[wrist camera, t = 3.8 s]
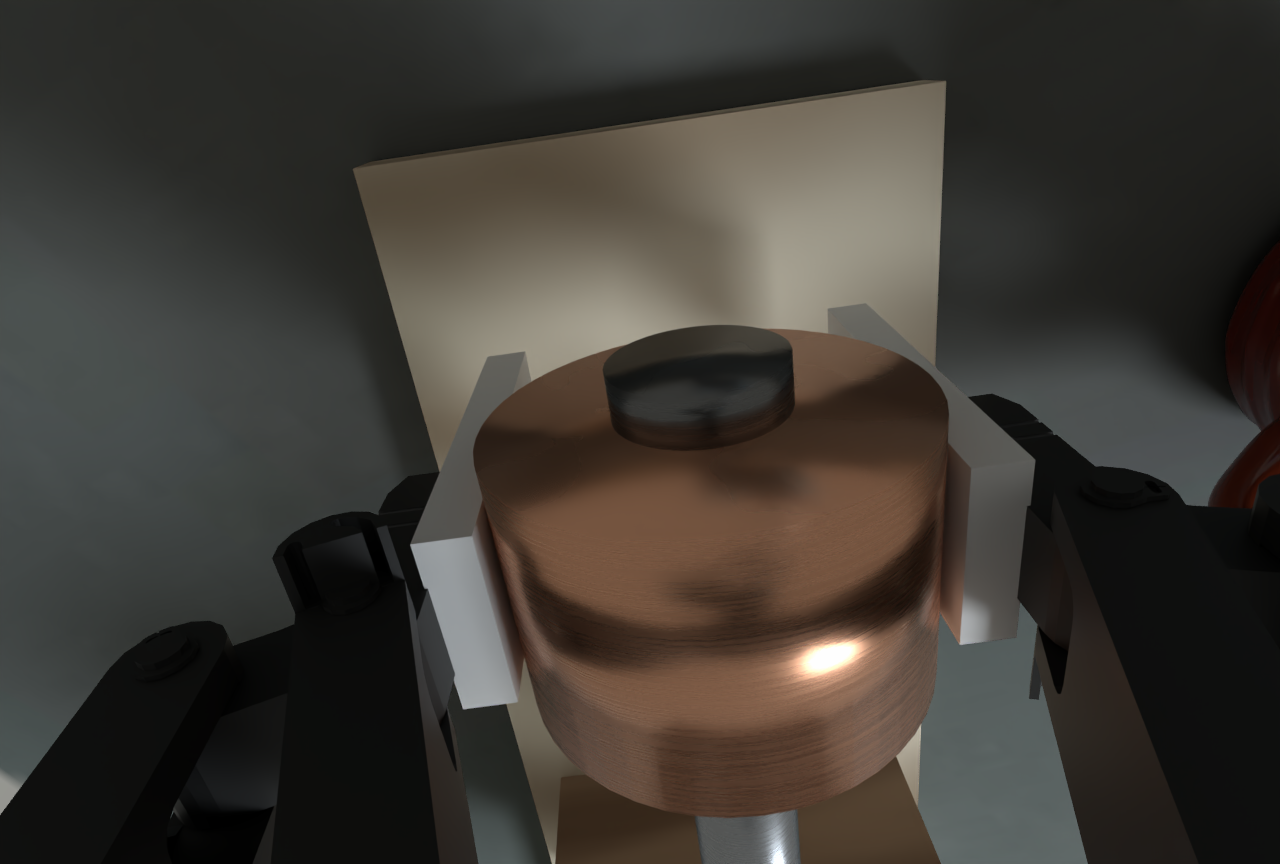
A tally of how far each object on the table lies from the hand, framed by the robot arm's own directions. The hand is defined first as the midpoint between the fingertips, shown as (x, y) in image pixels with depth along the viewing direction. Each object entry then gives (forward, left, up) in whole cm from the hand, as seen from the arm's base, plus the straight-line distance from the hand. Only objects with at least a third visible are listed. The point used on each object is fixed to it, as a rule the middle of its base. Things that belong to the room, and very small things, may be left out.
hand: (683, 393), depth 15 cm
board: (+8, 0, -3) cm, 9 cm away
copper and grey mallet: (+9, 0, +2) cm, 9 cm away
